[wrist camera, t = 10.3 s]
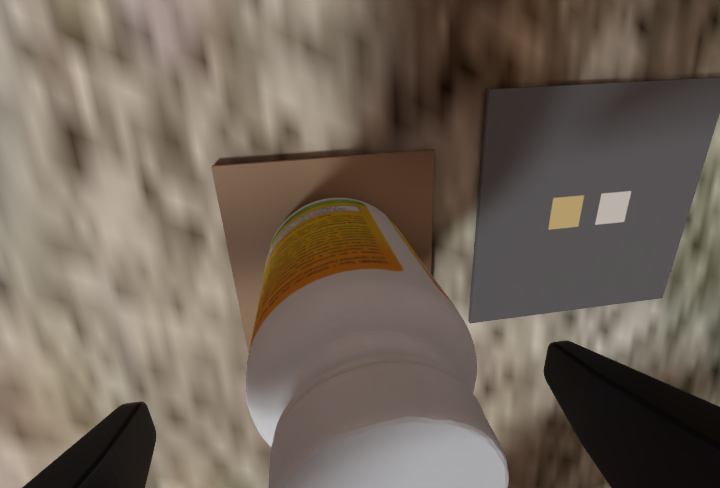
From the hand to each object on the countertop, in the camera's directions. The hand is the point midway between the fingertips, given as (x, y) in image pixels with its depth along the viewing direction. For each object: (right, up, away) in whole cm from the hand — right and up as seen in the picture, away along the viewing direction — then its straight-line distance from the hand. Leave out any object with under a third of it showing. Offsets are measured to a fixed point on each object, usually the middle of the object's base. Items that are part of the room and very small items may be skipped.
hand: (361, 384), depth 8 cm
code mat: (+10, +5, +8) cm, 13 cm away
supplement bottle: (-1, +3, +7) cm, 7 cm away
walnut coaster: (-1, +3, +7) cm, 7 cm away
